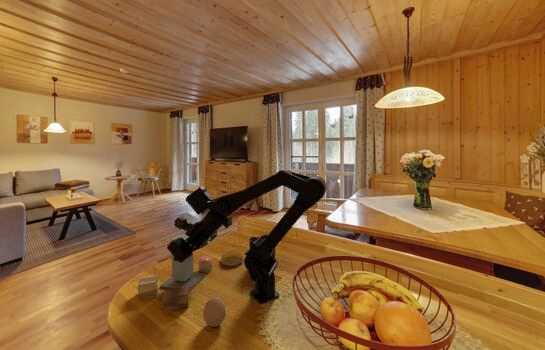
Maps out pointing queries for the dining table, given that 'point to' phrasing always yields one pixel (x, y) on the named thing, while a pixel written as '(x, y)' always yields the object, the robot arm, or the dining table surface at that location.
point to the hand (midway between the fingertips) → (179, 256)
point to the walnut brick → (175, 299)
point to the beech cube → (148, 287)
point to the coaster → (184, 282)
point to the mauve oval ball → (214, 312)
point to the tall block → (182, 265)
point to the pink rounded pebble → (205, 264)
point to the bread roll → (232, 258)
